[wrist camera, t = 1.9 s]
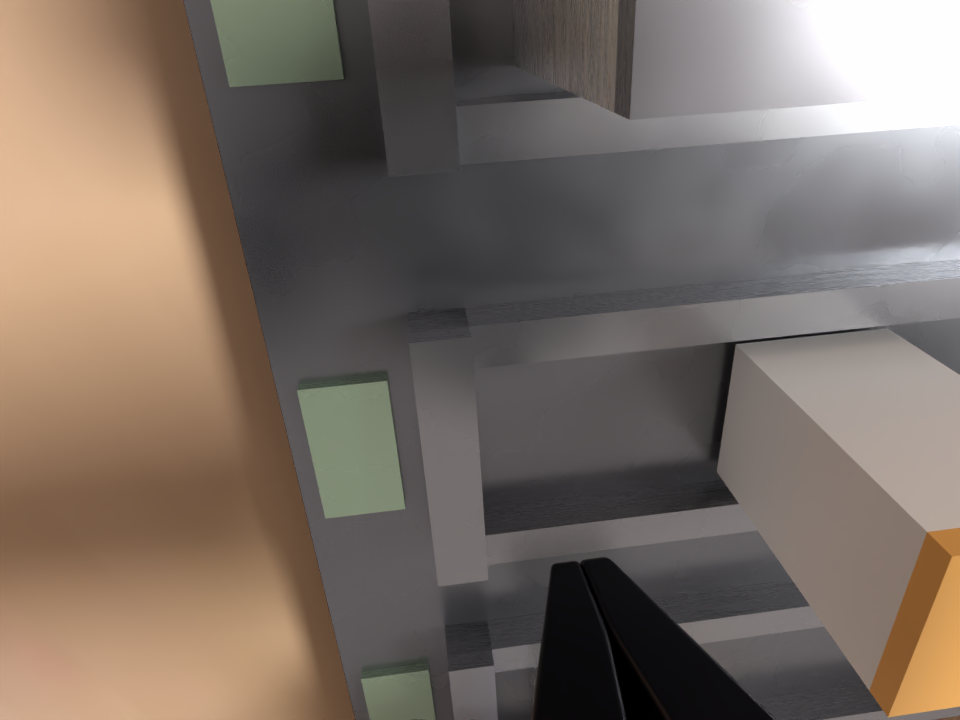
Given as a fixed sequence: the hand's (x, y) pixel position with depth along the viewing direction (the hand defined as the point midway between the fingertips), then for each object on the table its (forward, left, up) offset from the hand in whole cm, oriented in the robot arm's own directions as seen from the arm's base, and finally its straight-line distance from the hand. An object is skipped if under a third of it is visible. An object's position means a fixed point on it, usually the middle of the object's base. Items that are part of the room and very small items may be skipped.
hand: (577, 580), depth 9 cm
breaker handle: (-5, 0, -4) cm, 7 cm away
